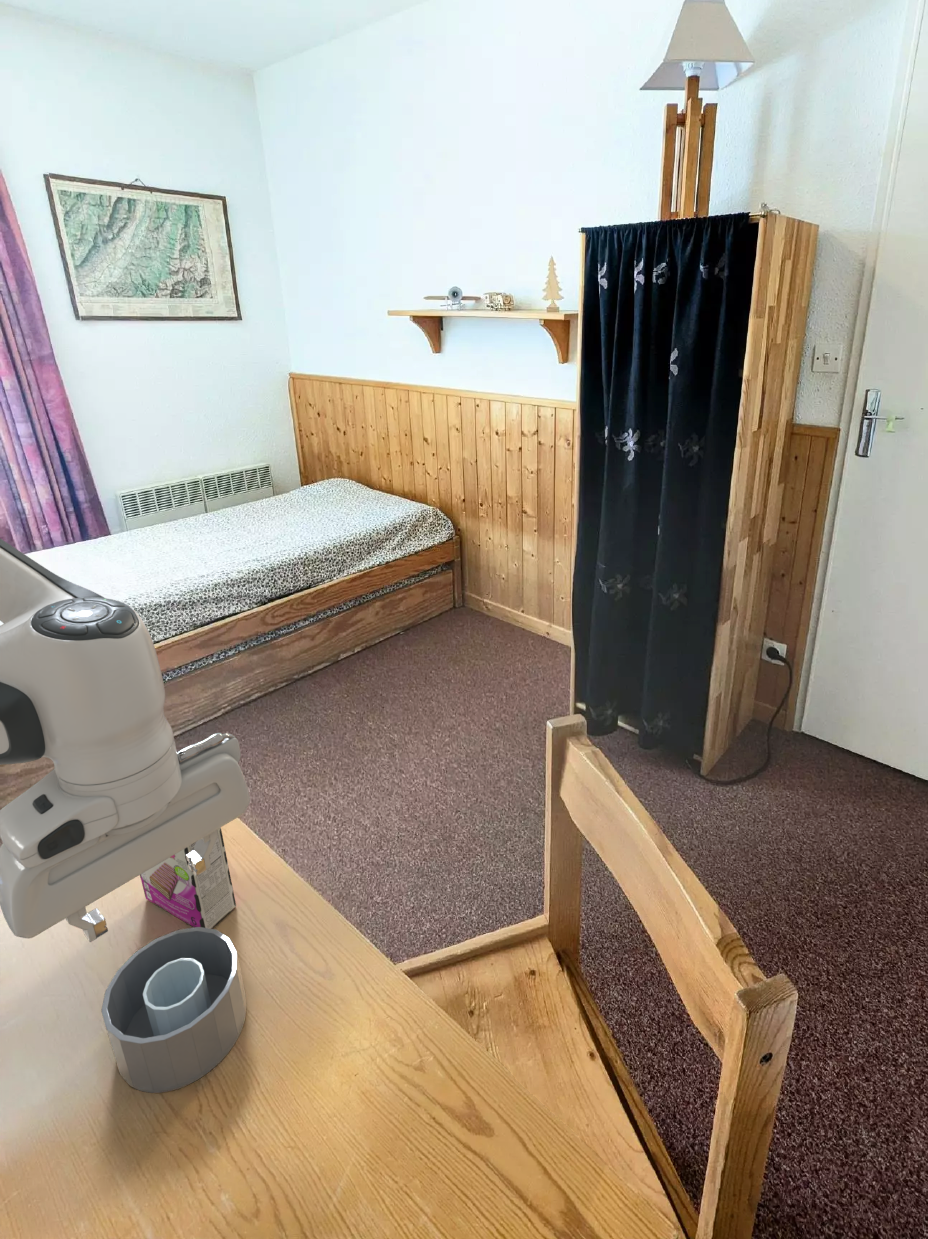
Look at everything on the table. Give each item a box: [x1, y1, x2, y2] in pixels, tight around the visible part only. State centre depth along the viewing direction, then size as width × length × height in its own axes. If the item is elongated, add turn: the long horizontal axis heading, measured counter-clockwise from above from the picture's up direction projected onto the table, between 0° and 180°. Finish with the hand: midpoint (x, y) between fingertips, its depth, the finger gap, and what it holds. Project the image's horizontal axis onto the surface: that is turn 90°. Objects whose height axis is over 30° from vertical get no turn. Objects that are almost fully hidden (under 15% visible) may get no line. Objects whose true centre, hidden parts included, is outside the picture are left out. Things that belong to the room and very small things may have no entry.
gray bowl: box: [100, 927, 247, 1094], centre depth 68 cm, size 12×12×7 cm
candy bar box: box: [139, 827, 237, 929], centre depth 81 cm, size 11×5×16 cm, turn 63°
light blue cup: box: [143, 958, 211, 1036], centre depth 68 cm, size 5×6×6 cm
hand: (150, 899), depth 63 cm, fingers open, 8 cm apart
